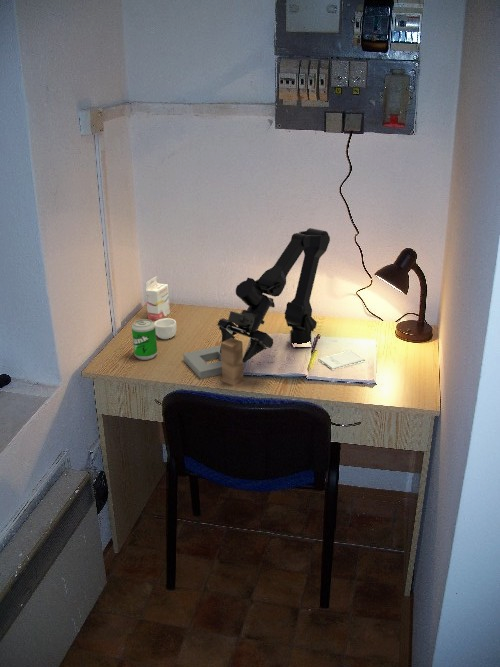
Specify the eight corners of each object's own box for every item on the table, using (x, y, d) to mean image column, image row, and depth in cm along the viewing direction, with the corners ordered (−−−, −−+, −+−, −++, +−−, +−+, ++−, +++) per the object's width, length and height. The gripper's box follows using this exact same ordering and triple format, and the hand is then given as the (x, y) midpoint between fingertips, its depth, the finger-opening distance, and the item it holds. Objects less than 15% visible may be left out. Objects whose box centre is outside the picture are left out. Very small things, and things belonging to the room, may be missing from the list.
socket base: (224, 351, 219) (224, 344, 218) (243, 368, 207) (243, 361, 206) (183, 360, 213) (183, 353, 212) (200, 379, 201) (200, 371, 200)
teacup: (172, 342, 226) (171, 327, 224) (151, 340, 228) (150, 326, 226) (182, 330, 235) (181, 316, 233) (162, 329, 237) (161, 315, 235)
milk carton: (159, 321, 243) (156, 283, 237) (147, 319, 245) (144, 282, 239) (170, 313, 250) (167, 276, 244) (159, 311, 252) (156, 275, 246)
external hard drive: (364, 363, 210) (332, 372, 205) (349, 353, 216) (318, 362, 211) (365, 358, 209) (332, 367, 204) (349, 349, 216) (318, 357, 211)
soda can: (148, 349, 221) (145, 316, 217) (162, 355, 217) (159, 322, 212) (130, 356, 217) (126, 322, 212) (143, 363, 212) (140, 329, 207)
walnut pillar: (232, 376, 203) (231, 337, 197) (243, 380, 200) (242, 341, 194) (222, 381, 199) (220, 342, 194) (233, 385, 197) (231, 346, 191)
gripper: (220, 293, 199) (195, 338, 196) (267, 307, 187) (241, 355, 184) (238, 310, 207) (215, 353, 204) (284, 324, 196) (260, 370, 193)
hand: (232, 357), depth 196 cm, fingers open, 9 cm apart
